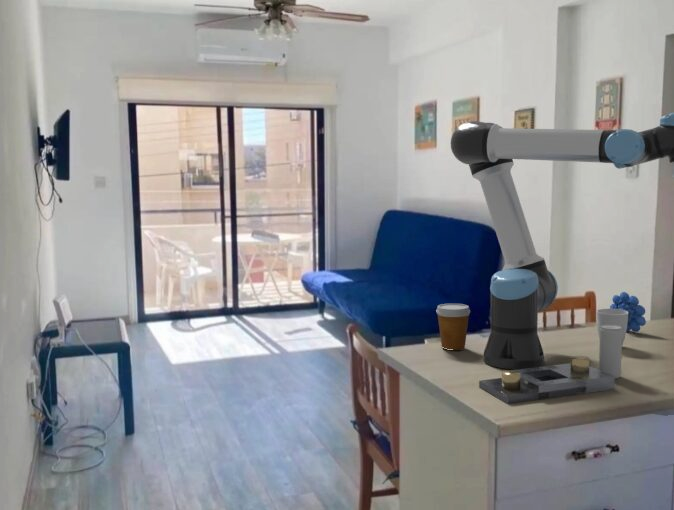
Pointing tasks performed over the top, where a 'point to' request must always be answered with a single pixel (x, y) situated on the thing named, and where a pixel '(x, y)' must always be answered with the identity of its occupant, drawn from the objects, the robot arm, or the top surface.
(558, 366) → the marble inkwell stand
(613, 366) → the beverage can
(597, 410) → the top surface
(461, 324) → the disposable coffee cup
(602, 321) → the cup
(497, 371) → the top surface
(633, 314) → the grapes
